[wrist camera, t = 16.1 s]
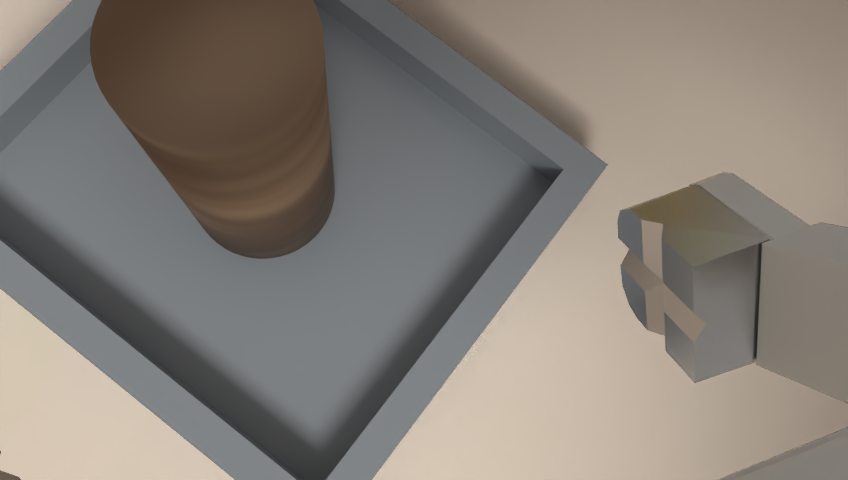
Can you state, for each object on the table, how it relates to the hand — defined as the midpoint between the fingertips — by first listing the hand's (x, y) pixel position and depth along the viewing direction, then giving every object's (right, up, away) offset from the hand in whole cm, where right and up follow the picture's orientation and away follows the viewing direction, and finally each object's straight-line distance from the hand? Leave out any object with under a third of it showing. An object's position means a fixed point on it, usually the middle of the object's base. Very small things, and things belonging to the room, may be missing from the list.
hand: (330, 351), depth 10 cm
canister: (-4, +3, +15) cm, 16 cm away
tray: (-4, +3, +16) cm, 16 cm away
